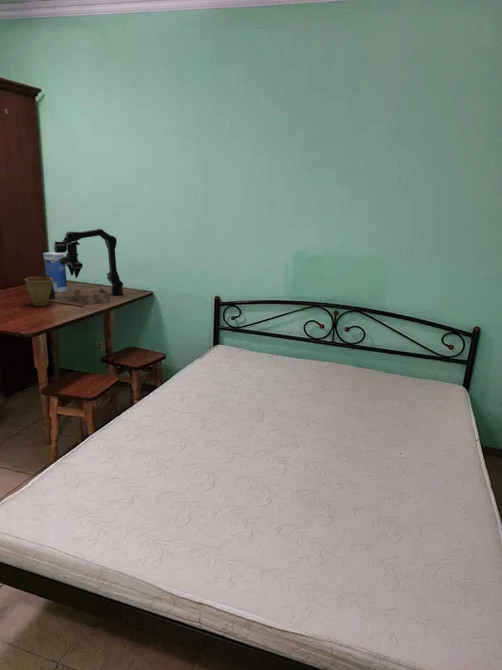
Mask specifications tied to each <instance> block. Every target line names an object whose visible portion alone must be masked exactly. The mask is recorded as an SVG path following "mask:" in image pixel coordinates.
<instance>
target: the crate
mask: <svg viewBox="0 0 502 670" xmlns="http://www.w3.org/2000/svg"><path fill="white" fill-rule="evenodd" d="M80 290H81V289H78V290H77V289H76V290H73V300H74V301H75V302H77V303H78V304H80V305H81V306H87V305H96V304H106V303H111V292H109V291H107V290H105V289H103V288H101V287H100V294H91V295H81V294H80Z"/></svg>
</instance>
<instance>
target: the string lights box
mask: <svg viewBox="0 0 502 670" xmlns="http://www.w3.org/2000/svg"><path fill="white" fill-rule="evenodd" d="M42 255H43V263H44V272H45V276H46V275H48V276H50V277H49V278H52V284H53V288H54V292H55V293H63V292H68V283H67V281H68V279H67V269H66V265H65V264H63V265H61V264H60V262H59V260H58V259H60V258H62V257H65V253H55V251H51V252H50V251H49V252H48V251H47V252H43V253H42Z"/></svg>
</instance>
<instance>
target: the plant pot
mask: <svg viewBox="0 0 502 670" xmlns="http://www.w3.org/2000/svg"><path fill="white" fill-rule="evenodd" d="M24 280H25V281H24V282H25V285H26V288H27V292H28V294H29V297H30V301H32V303H33V305H34V306H36V307H45V306H47V305H48V304H49V300H50V299H49V297H50V292H51V286H52V278H49V277H44V276H31V277H26V278H24Z"/></svg>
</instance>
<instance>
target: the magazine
mask: <svg viewBox="0 0 502 670" xmlns="http://www.w3.org/2000/svg"><path fill="white" fill-rule="evenodd" d="M43 277H50V276H48V275H46V274H45V275H44V276H43ZM56 293H57V292H54V288H53V284H52V286H51V292H50V297H49V300H50V299H51V300H53V299H55V298H56Z"/></svg>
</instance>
